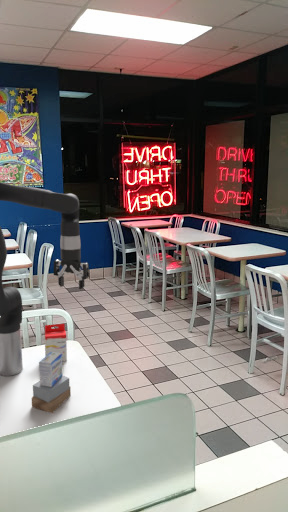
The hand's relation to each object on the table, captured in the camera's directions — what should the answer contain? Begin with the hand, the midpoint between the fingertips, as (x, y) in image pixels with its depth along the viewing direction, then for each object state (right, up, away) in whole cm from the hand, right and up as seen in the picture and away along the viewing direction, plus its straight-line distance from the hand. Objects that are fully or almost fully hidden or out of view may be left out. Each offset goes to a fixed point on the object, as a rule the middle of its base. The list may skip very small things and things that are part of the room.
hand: (71, 287), depth 154 cm
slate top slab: (-3, -34, -20) cm, 39 cm away
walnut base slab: (-3, -38, -19) cm, 42 cm away
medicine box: (-3, -30, -20) cm, 36 cm away
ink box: (-8, -31, +10) cm, 33 cm away
